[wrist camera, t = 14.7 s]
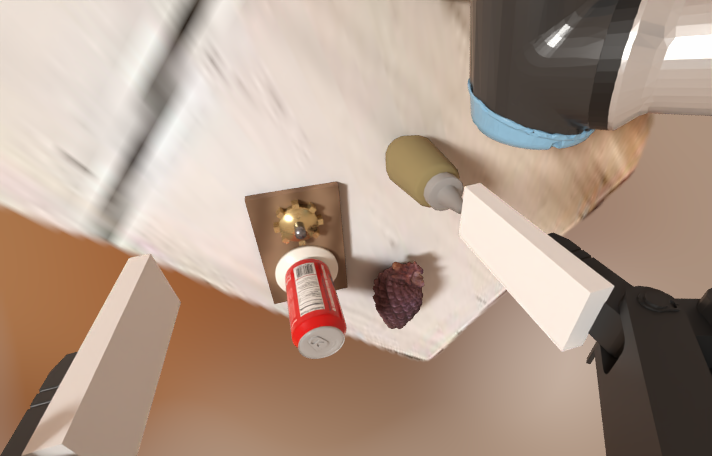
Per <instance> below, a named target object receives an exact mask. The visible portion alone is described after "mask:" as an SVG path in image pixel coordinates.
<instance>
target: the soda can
mask: <svg viewBox="0 0 712 456" xmlns="http://www.w3.org/2000/svg"><path fill="white" fill-rule="evenodd" d="M285 286H286V294H287V303H288V311H289V319H290V328H291V335H292V341H293V344H294V345H295V346H296V347H297V348H298V350H299V352H300V353H301V354H302V355H303V356H305V357H307V358H313V359H317V358H324V357H327V356H330V355H331V354H333V353H335V352H337V351H338V350H339V349H340V348H341V347H342V345H343V343H344V340H345V337H344V336H345V334H346V323H345V319H344V316H343V313H342V309H341V306H340V303H339V299H338V296H337V293H336V289H335V286H334V283H333V279H332V276H331V273H330V270H329V268H328V266H327V265H326V264H325V263H324V262H322V261H320V260H318V259H311V258H310V259H303V260H300V261H298V262H296V263H294V264H293V265H292V266H291V267H290V268H289V269H288V270H287V272H286V275H285Z"/></svg>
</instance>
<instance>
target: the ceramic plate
mask: <svg viewBox="0 0 712 456" xmlns="http://www.w3.org/2000/svg"><path fill="white" fill-rule="evenodd" d="M310 258H311V259H318V260H320V261H322V262H324V263H325V264H326V265H327V266H328V268H329V270H330V273H331V276H332V279H333V282H334V280H335V278H336V276H337V274H338V263H337V260H336V258H335V256H334V255H333V254H332V252H330V251H329V250H328V249H326V248H324V247H321V246H317V245H304V246H300V247H296V248H294V249H292V250H290V251H288V252H287V253H286V254H284V255H283V256H282V257H281V258H280V260H279V261H278V263H277V266H276V269H275V276H276V281H277V283H278V285H279V286H280V288H281V289H283V290H284V291H285V292H286V286H285V275H286V272H287V270H288V269H289V268H290V267H291V266H292V265H293V264H294V263H296V262H298V261H300V260H303V259H310Z"/></svg>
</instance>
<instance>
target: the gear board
mask: <svg viewBox="0 0 712 456" xmlns="http://www.w3.org/2000/svg"><path fill="white" fill-rule="evenodd" d="M292 200H298V204H301V205H306V206H307V205H308V204H309V203H310V202H311V203H313V204H314V205H315V206H316V209H317V210H316V211H315V214H316V215H319V214H321V215H322V218H323V224H322V225H318V229H319V232H320V235H319V236H318V237H317V239H316V238H314V237H311V238H309V239H308V240H305V243H306V245H317V246H321V247H324V248H326V249H328V250H329V251H330V252H332V254H333V255H334V256H335V258H336V260H337V263H338V274H337V276H336V278H335V280H334V282H333V283H334V286H335V289H336V290H339V289H343V288H347V276H346V265H345V254H344V242H343V231H342V220H341V209H340V197H339V186H338V184H337V182H331V183H325V184H318V185H312V186H306V187H300V188H294V189H287V190H281V191H275V192H269V193H262V194H256V195H250V196H245V203H246V207H247V210H248V214H249V217H250V221H251V224H252V228H253V231H254V235H255V238H256V242H257V245H258V249H259V252H260V256H261V259H262V263H263V266H264V270H265V273H266V276H267V280H268V283H269V287H270V290H271V294H272V297H273V301H274V304H277V303H281V302H286V301H287V294H286V292H285V291H284V290H283V289H281V288H280V286H279V285H278V283H277V281H276V276H275V269H276V266H277V263H278V261H279V260H280V258H281V257H282V256H283V255H284V254H286V253H287V252H288V251H290V250H292V249H294V248H296V247H300V246H299V242H294V241H290V242H289V243H288V244H286V243H284V242H282V237H281V236H282V234H281V232H279V233H275V231H274V226H273V223H274V222H279V218H278V217H276V211H277V210H278V209H279V207H280V208H282V209H284V210H285V209H286V208H287V207H289V206H292V204H291V201H292ZM302 246H304V245H302Z"/></svg>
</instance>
